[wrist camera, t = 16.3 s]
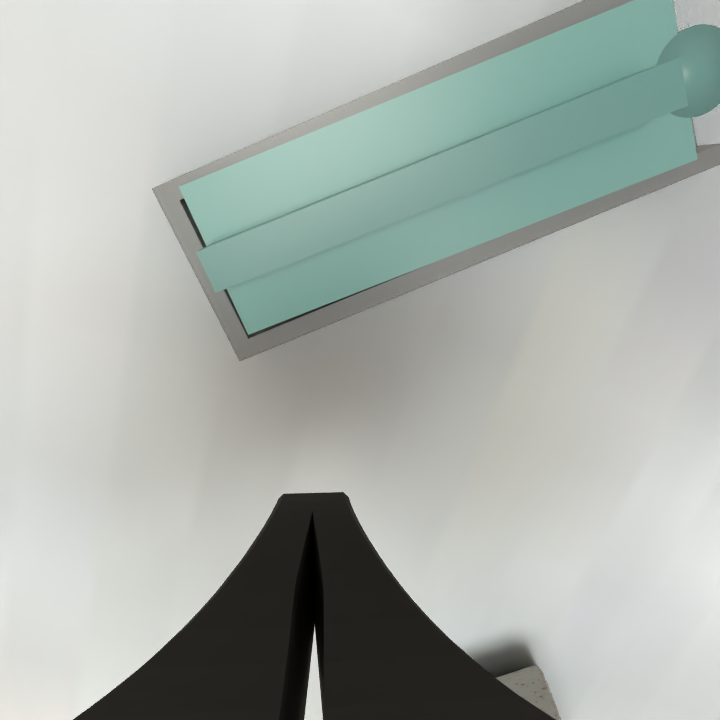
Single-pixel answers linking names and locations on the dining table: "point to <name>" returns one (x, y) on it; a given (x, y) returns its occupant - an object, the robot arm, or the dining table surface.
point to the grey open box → (302, 324)
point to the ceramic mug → (532, 688)
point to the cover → (457, 162)
